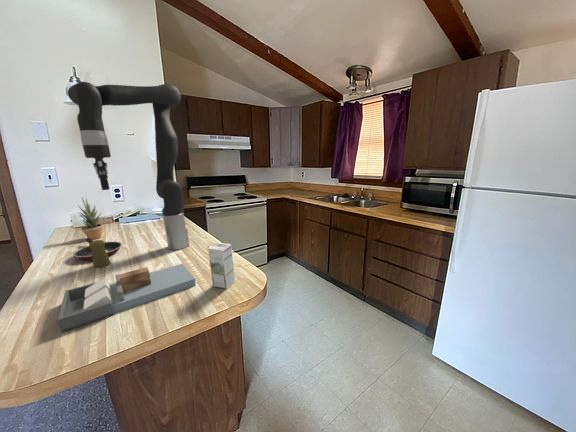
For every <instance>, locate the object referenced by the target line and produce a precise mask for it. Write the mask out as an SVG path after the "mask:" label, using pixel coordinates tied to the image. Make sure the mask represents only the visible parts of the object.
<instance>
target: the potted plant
mask: <svg viewBox="0 0 576 432" xmlns="http://www.w3.org/2000/svg"><path fill="white" fill-rule="evenodd" d="M81 199H82V202H83V205H84V208H85V209H83V208H82V207H81V206H80V205H77V207H78V208H79V210H80V211H79V217H81V218H82V220H81V221H82V223H83V225H85V226H83V227H81V231H82V233H84V234H85V236H86V239H87V238H90V239H92V240H93V241H96V240H100V239H101V238H102V237H103V236H102V234H103V228H104V226H103V224H102V223H98V222H99V221H100V220H101V218H100V217H101V215H102V214H101V212H100V213H99V214H98V210H96V205H94V206H93V209H91V205H90V204H89V202H88V199H87V198H85V200H84V198H83V196H81ZM81 211H82V212H81ZM97 214H98V216H97Z"/></svg>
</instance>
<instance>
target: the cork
mask: <svg viewBox="0 0 576 432" xmlns="http://www.w3.org/2000/svg"><path fill="white" fill-rule="evenodd" d="M105 242H106V241H104V240H102V239H96V240H93V242H91V243H90V244H89V243H88V246H89V247H90V249H92V256H93V260H92V266H93V269H101V268H105V267H108V266H110V265H111V264H112V262H111V260H110V258H109V257H110V256H108V255H107V253H106V250H105V248H104V247H105Z"/></svg>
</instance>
